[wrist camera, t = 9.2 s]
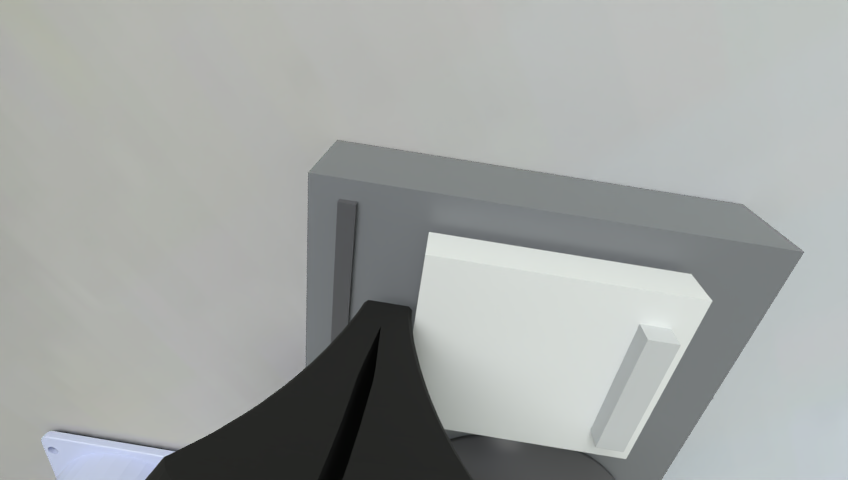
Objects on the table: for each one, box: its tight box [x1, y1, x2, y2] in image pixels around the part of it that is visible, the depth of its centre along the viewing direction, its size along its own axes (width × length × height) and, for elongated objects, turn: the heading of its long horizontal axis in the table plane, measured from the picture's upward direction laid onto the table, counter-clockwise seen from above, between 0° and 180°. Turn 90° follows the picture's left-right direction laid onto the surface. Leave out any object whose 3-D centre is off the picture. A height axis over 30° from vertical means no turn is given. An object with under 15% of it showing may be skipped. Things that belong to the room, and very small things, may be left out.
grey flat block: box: [306, 140, 804, 480], centre depth 17 cm, size 18×13×3 cm
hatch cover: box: [413, 232, 712, 459], centre depth 13 cm, size 6×7×2 cm
